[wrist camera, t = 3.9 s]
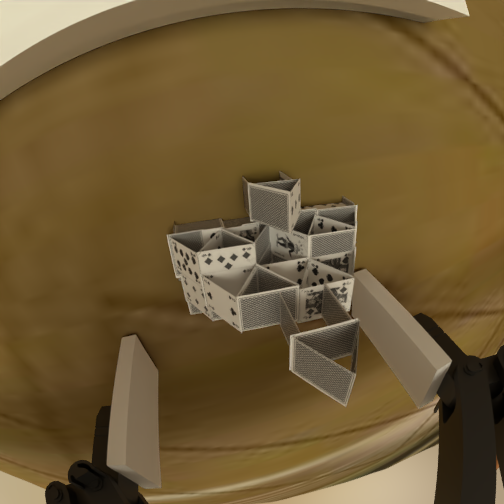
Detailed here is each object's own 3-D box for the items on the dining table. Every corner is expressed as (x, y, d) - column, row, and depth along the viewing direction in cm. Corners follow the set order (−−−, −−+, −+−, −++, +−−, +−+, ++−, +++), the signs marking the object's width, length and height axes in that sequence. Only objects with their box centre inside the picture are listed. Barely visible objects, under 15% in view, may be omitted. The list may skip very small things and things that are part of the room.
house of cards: (377, 85, 10) (541, 99, 3) (367, 265, 14) (467, 370, 7) (150, 90, 9) (63, 39, 2) (185, 299, 13) (199, 465, 6)
